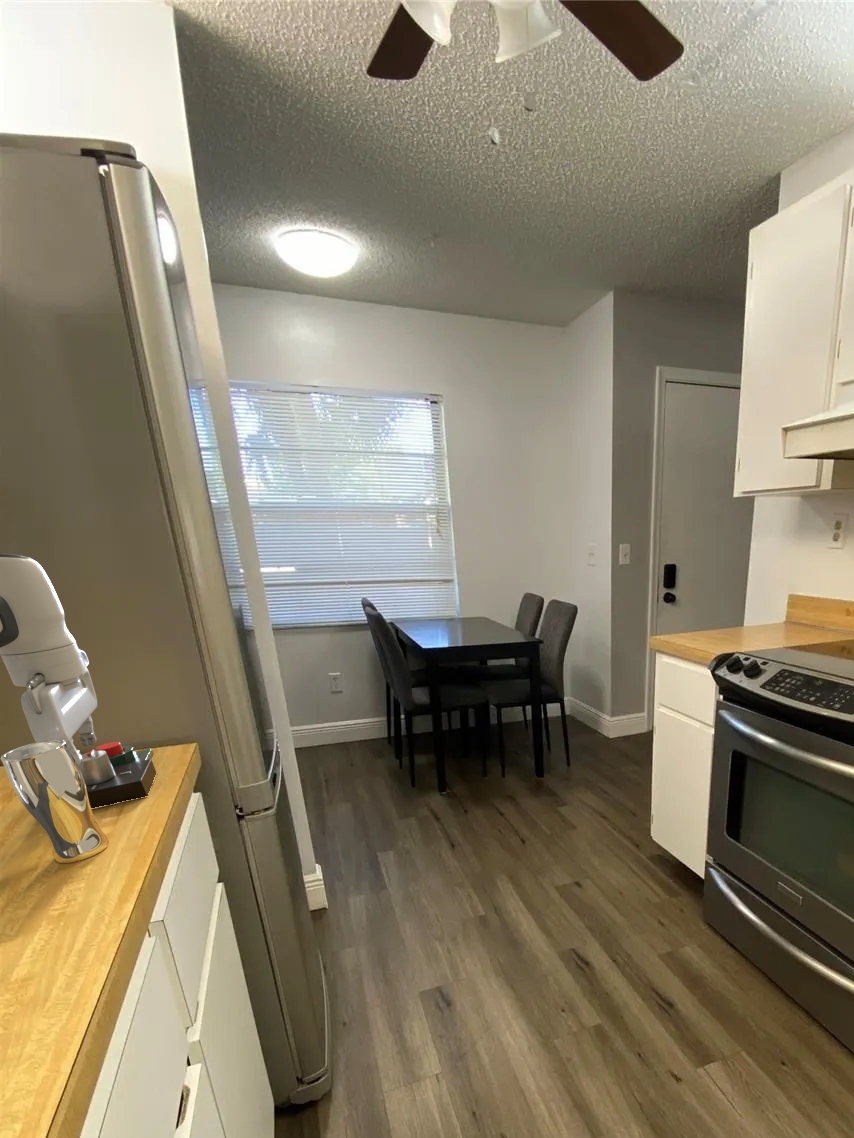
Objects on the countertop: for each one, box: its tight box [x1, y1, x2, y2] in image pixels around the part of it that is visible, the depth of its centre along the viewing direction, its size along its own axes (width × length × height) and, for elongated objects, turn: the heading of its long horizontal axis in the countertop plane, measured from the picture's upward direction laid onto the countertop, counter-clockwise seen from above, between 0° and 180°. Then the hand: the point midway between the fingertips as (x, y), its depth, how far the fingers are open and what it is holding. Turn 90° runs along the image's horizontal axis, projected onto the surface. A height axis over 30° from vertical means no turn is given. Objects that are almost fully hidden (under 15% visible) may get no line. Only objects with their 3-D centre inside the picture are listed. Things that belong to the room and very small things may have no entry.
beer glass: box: [0, 740, 110, 864], centre depth 83 cm, size 7×7×15 cm
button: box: [95, 741, 123, 757], centre depth 109 cm, size 4×4×2 cm
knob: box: [78, 749, 116, 785], centre depth 100 cm, size 4×4×4 cm
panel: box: [86, 759, 157, 808], centre depth 102 cm, size 13×10×3 cm
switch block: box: [108, 744, 155, 767], centre depth 110 cm, size 10×8×4 cm
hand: (83, 753), depth 99 cm, fingers open, 8 cm apart
